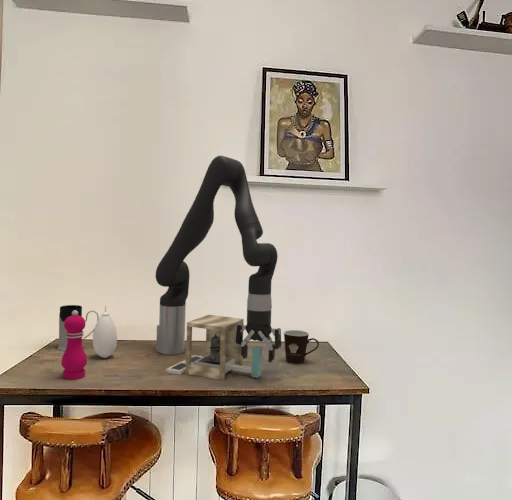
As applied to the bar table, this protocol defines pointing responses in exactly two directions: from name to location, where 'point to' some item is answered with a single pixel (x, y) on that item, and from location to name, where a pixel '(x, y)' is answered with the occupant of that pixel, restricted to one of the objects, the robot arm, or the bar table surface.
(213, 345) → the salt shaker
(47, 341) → the bar table surface
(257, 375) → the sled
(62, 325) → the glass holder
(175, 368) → the pit trap board
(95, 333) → the sauce bottle
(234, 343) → the tunnel
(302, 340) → the coffee mug
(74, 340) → the pepper mill
